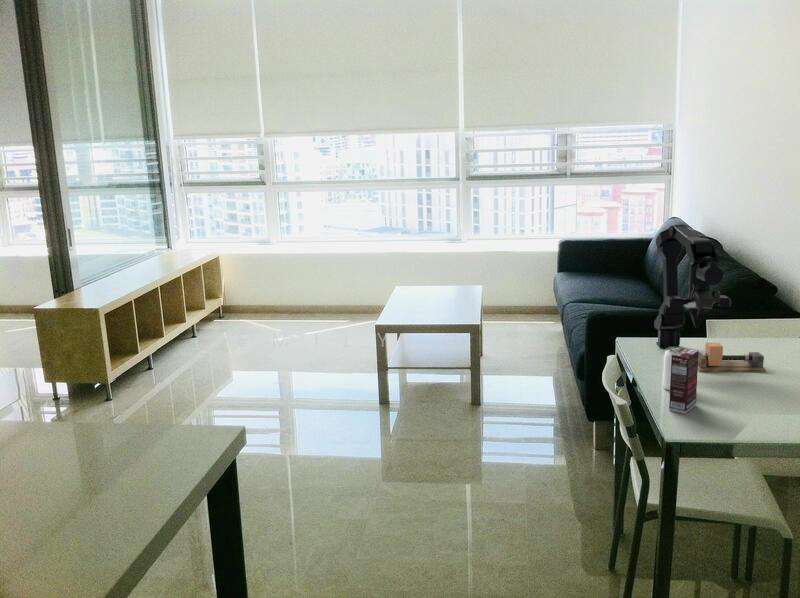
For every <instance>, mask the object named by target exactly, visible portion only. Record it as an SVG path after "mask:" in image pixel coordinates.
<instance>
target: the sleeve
mask: <svg viewBox="0 0 800 598" xmlns="http://www.w3.org/2000/svg"><path fill="white" fill-rule="evenodd" d="M723 353H724V345H722V344H721V343H720V342H705V349H704V355H708V360H706V364H707V365H708V366H722V361H723V360H722V355H724V354H723Z"/></svg>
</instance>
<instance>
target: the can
mask: <svg viewBox="0 0 800 598" xmlns="http://www.w3.org/2000/svg"><path fill="white" fill-rule="evenodd" d="M682 348H683V347H681V346H679V347H668V348H665V349H666V350H665V352H664V359H663V376H662V388H663V389H664V388H665V390H666V391H668V390H669V392H670V381H671V360H672V355H673V354H674V353H676V352H677V351H679V350H680V349H682Z"/></svg>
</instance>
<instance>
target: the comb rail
mask: <svg viewBox="0 0 800 598" xmlns="http://www.w3.org/2000/svg"><path fill="white" fill-rule="evenodd" d="M764 359H765V356H764V355H763V354H762V353H761V352H759V351H750V352H748V354H743V355H742V354H741V355H735V354H734V355H732V354H731V355H728V354H727V355H724V354H723V355H722V366H708V365H707V364H706V360H708V355H705V354H702V353H701V352H700V351H699V353H698V371H697V372H699V373H766V371H767V369H765V368H764V362H765V361H764Z"/></svg>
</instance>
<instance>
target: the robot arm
mask: <svg viewBox="0 0 800 598" xmlns="http://www.w3.org/2000/svg"><path fill="white" fill-rule="evenodd" d="M655 246H656V250H657V253H658V255H659V256H660V258H661V260H662V281H663V283H662V284H663V286H662V287H663V289H662V290H663V302H662V304H661V305H660V307H659V309H658V315H657V316H656V318H655V320H654V321H653V323H654V324H653V325H654V326H653V327H654V329H656V330H657V331H658V332H657V334H658V335H657V341H656V344H657V346H658V347H659V348H660V349H666V348H668V347H680V345H681V344H680V343H681V333H680V331H683V330H684V327H685V324H686V314H685V309H686V310H687V311H688V313H689V315H690V318H691V321H692V324H693V327H694V328H695V329H699V327H700V325H701V322H702V320H703V318H704V317H705V315H706V313H707V312H708V311H711V310H712V309H713V307H714V305H718V306H719V307H720V308H731V307H732V299H731V298H730V297H729V296H727V295H724V294H723V295H722V294H721V291H719V290H713V291H712V290H711V289H710V288H711V286H716V285H718V284H719V285H720V283H721V282H722V280H723V279H724V273H723V271H722V269H721V268H720V267H718V263H719V254H718V251H717V248H716V246H715V244H714V243H713V240H711V239H709V238H706V237H700V236H698V235H696V234H695V233H694V232H693V231H692V230H690V229H689V228H688V227H687V224H671V225H669V227H668V228H666V229H665V230H663V231H660V232H659V234H658V235H657V236H656V238H655ZM683 246H684V248H686V249H685V253H686V254H687V256H688V258H689V260H688V264H689V275H688V276H689V277H688V281H687V285H688V293H687V298H682V297H680V295H679V280H678V279H679V278H678V275H679V274H678V271H679V270H678V258H679V256H681V253H682V252H683Z"/></svg>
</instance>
